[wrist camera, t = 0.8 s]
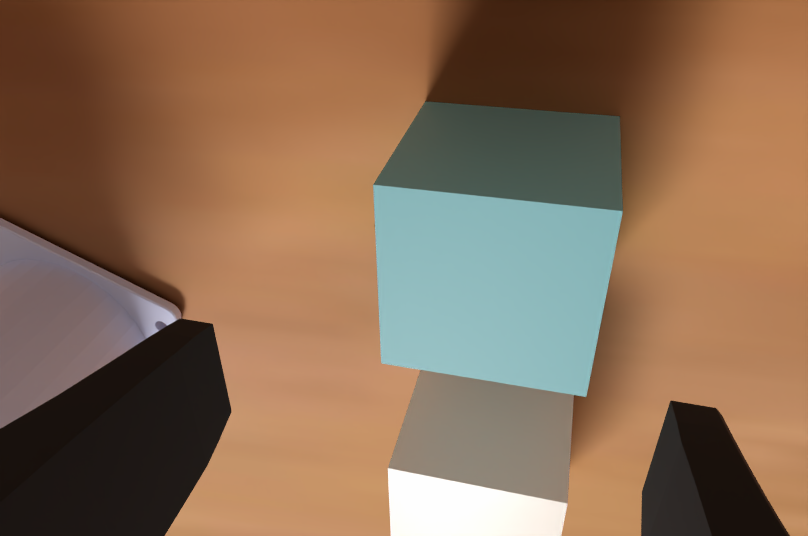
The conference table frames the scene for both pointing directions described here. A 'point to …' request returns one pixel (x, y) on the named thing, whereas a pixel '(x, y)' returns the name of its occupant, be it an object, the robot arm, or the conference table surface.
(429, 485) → the cream block
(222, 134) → the conference table surface
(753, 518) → the robot arm
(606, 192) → the teal block
